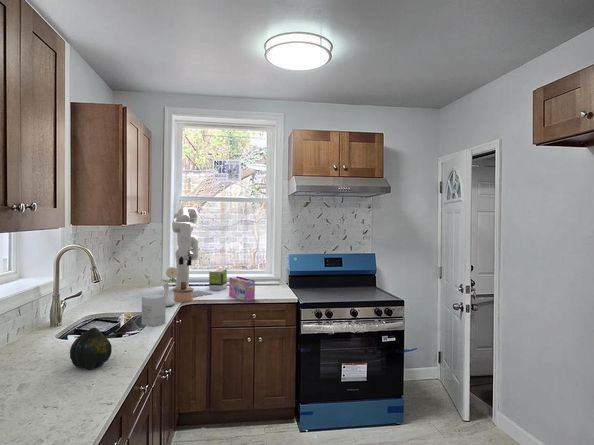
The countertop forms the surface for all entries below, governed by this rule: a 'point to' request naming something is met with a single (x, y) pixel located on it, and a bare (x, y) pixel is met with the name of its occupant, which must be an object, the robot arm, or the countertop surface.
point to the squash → (90, 349)
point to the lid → (183, 288)
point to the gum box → (242, 288)
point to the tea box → (217, 279)
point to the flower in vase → (171, 274)
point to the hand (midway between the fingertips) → (185, 265)
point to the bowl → (183, 296)
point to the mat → (200, 293)
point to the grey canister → (153, 310)
